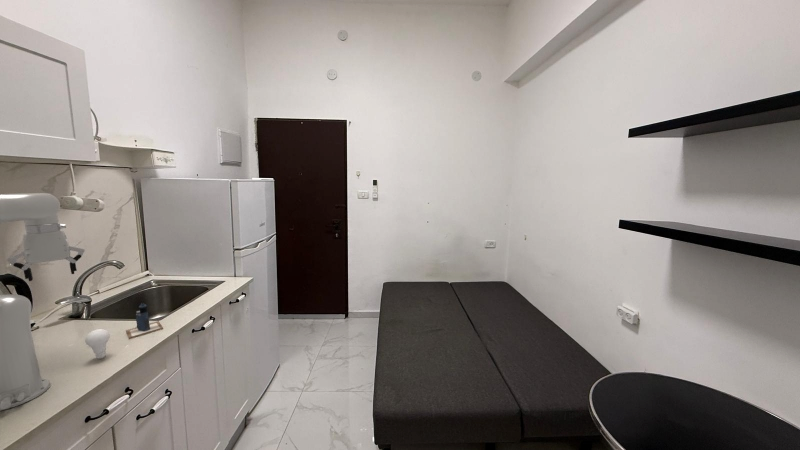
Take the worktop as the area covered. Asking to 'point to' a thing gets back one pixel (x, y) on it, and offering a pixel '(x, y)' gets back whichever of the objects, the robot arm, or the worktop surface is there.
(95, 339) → the lightbulb
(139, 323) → the vaping device
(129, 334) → the clipboard
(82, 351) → the worktop surface
